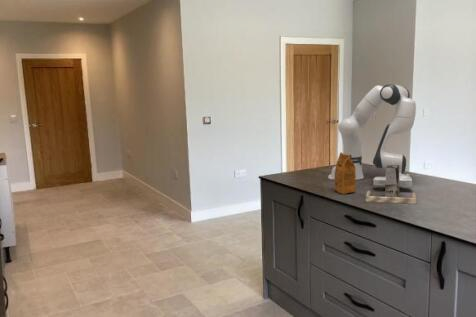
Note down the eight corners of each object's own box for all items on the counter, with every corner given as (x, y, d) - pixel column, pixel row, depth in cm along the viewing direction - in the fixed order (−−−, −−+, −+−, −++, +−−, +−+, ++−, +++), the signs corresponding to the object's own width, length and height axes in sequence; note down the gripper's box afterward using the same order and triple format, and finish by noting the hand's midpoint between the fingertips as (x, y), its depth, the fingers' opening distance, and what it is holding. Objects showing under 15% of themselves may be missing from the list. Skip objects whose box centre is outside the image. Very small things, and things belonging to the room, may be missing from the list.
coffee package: (348, 188, 246) (347, 151, 242) (358, 193, 234) (357, 154, 230) (332, 189, 244) (331, 152, 241) (341, 195, 232) (340, 155, 229)
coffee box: (398, 198, 219) (398, 168, 216) (384, 197, 222) (385, 167, 219) (399, 194, 227) (399, 164, 224) (387, 193, 230) (387, 164, 227)
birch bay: (365, 201, 217) (365, 196, 217) (367, 195, 229) (367, 190, 228) (416, 204, 208) (416, 199, 208) (415, 197, 220) (415, 192, 220)
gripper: (373, 173, 244) (371, 178, 231) (412, 174, 236) (412, 179, 224) (373, 184, 245) (371, 189, 232) (411, 185, 237) (412, 191, 225)
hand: (392, 184), depth 228 cm, fingers closed
